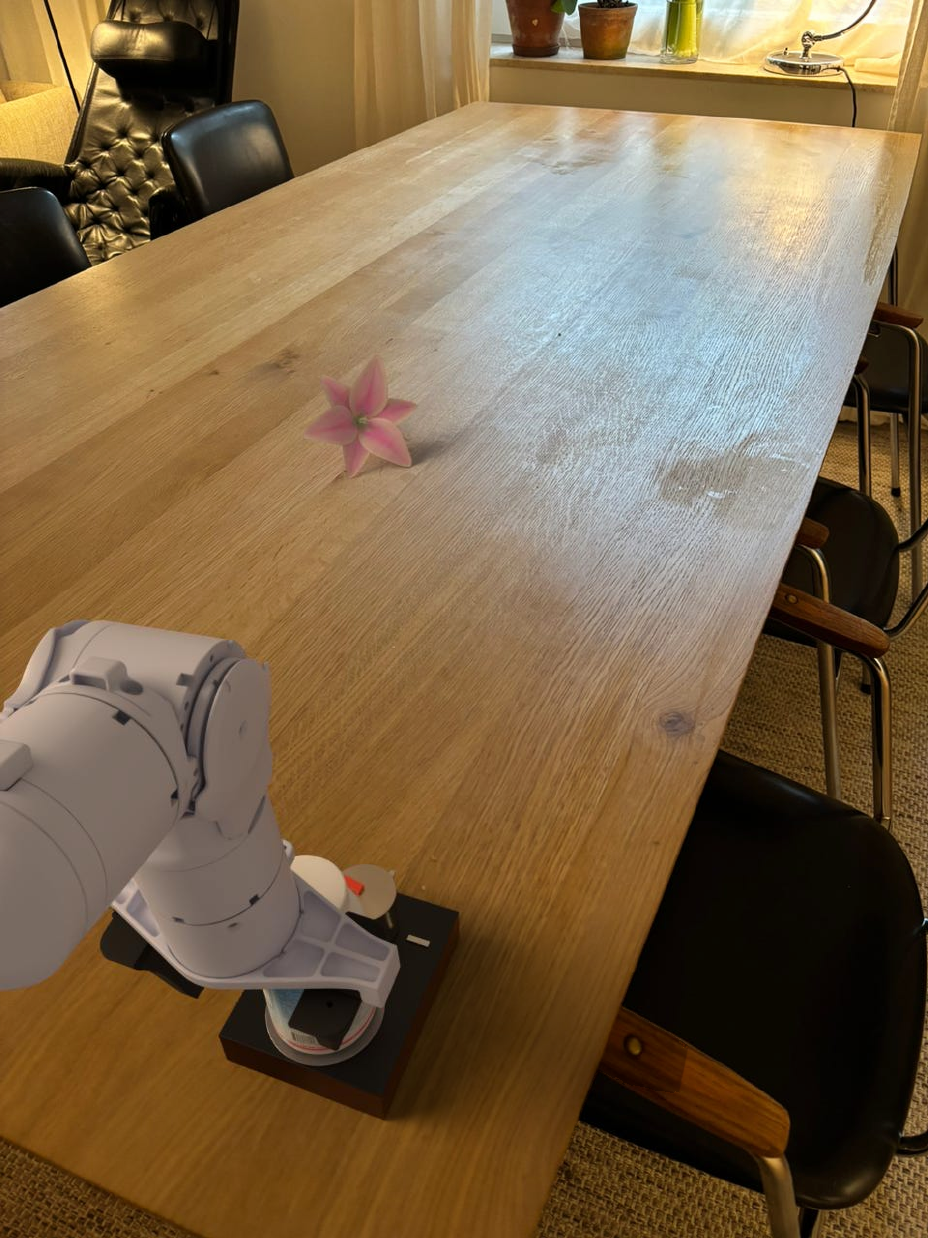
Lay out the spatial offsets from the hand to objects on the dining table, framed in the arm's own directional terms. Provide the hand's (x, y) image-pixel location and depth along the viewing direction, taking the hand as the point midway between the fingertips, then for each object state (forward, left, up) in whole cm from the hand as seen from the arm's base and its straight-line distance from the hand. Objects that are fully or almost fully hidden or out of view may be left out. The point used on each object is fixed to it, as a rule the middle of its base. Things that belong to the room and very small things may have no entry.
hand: (269, 1003), depth 49 cm
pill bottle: (+4, 0, -8) cm, 9 cm away
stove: (+7, 0, -11) cm, 12 cm away
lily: (+64, +25, -11) cm, 69 cm away
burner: (+4, 0, -8) cm, 9 cm away
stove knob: (+10, 0, -7) cm, 12 cm away
